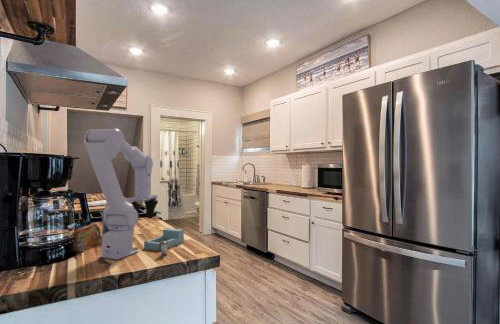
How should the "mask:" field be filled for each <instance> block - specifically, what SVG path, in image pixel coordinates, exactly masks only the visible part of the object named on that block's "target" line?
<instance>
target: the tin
mask: <svg viewBox="0 0 500 324" xmlns="http://www.w3.org/2000/svg"><path fill="white" fill-rule="evenodd" d="M71 236H73V237H74V240H75V247H76V251H77V252H76V253H84V251H85V252H86V251H89V250H90V249H92V248H94V247H96V246H97V245H99V242H100V240H101V230H100V227H99V225H97V224H89V225H86V226H82V227H80V228H77V229H75V230H74V232H72V234H71Z"/></svg>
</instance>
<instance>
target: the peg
mask: <svg viewBox="0 0 500 324" xmlns="http://www.w3.org/2000/svg"><path fill="white" fill-rule="evenodd" d="M167 243H168V241H161V242H160V244H161V251H160V256H162V257H167V256H168V248H167Z"/></svg>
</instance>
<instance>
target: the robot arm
mask: <svg viewBox="0 0 500 324" xmlns="http://www.w3.org/2000/svg"><path fill="white" fill-rule="evenodd" d="M84 135H85V136H84V138H83V140H82V141H83V144H84V147H85V149H86V152H87V154H88V157H89V159H90V163H91V167H92V169H93V171H94V174H95V176H96V178H97V182H98V183H99V186H100V190H101V191H102V194H103V197H104V199H105V202H106V203H107V204H108V206H107V207H106V208H105V207H104V208H105V209H104V208H103V209H104V211H102V214H104V222H105V225H106V226H107V227H108V229H109V230H110V231H108V232H106V233H105V234H104V235H102V237H101V255H99V256H100V258H104V259H111V260H120V259H123V258H125V257H128V256H130V255H131V256H132V255H133V254H136V253H139V250H136V249H134V248H133V246H134V245H133V242H134V241H133V239H134V238H133V235H134V233H133V228H134V229H135V227H136V226H137V224H138V222H139V215H140V208H141V205H142V204H141V202H144V204H145V205H144V206H145V211H146V218H147V219H153V216H154V212H155V208H156V206H157V205H158V201H159V200H158V194H151V175H152V171H153V167H154V161H153V158H152V157H151V156H149V155H145V154H144V153H143V152H142V151H141V150H140V149H139V148H138V146H136V145H135V146H131V145H130V144H129V143H128V142H127V141H126V140H125V137H124V133H123V132H122V131H121V130H120V129H119V128H106V129H94V128H89V129H88V130H87V131H86V132H85V134H84ZM119 152H120V153H122V154H123V158H124V159H125V160H126V161H127V162H128V163H130V165H131V167H132V169H133V170H134V196H132V197H131V196H130V197H128V198H126V199H125V197H124V194H123V191H122V189H121V186H120V183H119V179H118V177H117V173H116V171H115V169H114V166H113V163H112V160H113V159H114V158H116V157H117V155H118V153H119ZM125 200H127V201H125Z"/></svg>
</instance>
